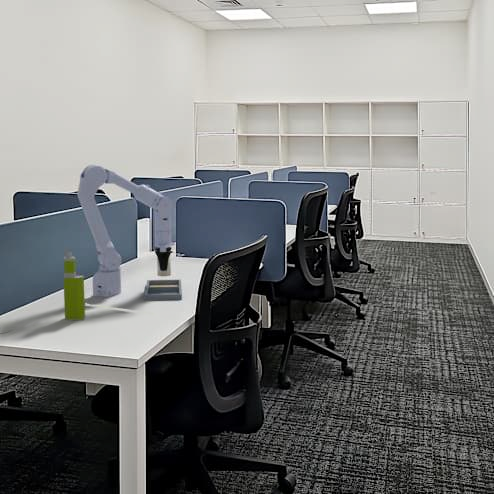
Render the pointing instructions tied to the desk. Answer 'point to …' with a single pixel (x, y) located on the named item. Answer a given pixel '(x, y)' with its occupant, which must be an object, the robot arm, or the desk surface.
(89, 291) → the desk surface
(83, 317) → the vape
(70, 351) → the desk surface
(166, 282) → the tray
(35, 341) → the desk surface
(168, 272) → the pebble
